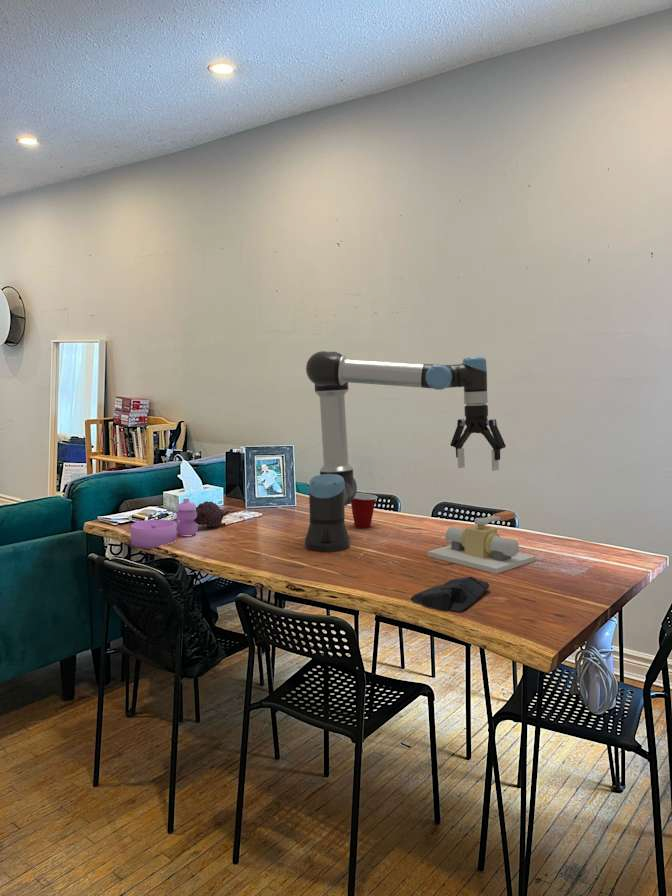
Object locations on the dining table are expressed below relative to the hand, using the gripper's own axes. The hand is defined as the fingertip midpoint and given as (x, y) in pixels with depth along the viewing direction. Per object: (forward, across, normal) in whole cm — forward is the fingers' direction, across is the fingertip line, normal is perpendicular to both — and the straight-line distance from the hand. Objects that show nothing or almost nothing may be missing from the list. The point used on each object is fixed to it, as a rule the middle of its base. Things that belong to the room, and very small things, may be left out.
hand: (478, 468), depth 230 cm
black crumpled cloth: (+26, -26, +49) cm, 62 cm away
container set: (+21, +81, +72) cm, 110 cm away
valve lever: (+15, -10, +7) cm, 20 cm away
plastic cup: (+24, +47, +8) cm, 53 cm away
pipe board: (+26, -10, +14) cm, 31 cm away
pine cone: (+21, +86, +51) cm, 102 cm away
